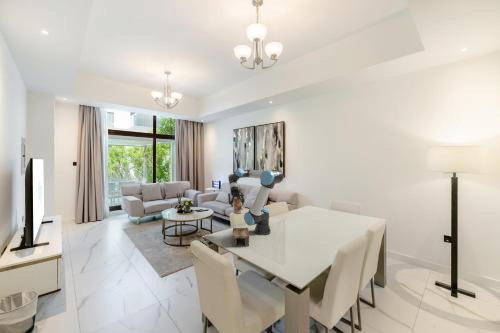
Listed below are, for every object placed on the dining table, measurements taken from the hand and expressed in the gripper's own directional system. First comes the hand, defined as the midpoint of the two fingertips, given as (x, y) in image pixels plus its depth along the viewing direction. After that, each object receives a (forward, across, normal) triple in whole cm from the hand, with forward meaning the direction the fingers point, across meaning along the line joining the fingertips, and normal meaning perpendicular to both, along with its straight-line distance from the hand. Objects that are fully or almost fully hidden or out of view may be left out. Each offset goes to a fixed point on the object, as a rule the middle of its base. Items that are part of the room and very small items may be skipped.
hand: (238, 209), depth 191 cm
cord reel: (0, 0, -5) cm, 5 cm away
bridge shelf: (+25, 0, -9) cm, 27 cm away
